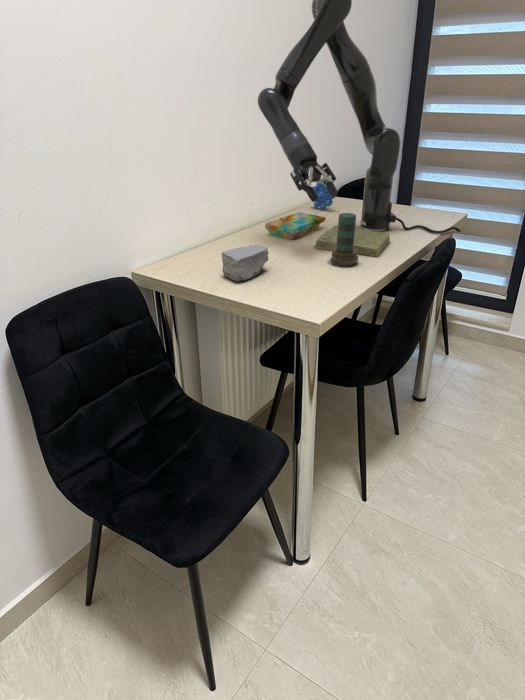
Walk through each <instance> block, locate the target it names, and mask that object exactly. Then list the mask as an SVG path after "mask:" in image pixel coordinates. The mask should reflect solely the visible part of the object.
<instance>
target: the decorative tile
mask: <svg viewBox="0 0 525 700" xmlns="http://www.w3.org/2000/svg"><path fill="white" fill-rule="evenodd" d="M337 234H338V225H334V226H333V227H331V228H329V229H327V230H326V231H325V232H324V233H322V234H320V236H319V237H317V238H316V239H315V248H317V249H322V250H329V251H333V248H334V247H337ZM390 235H391V234H390V233H389V232H387V231H386V232H385V231H382V232H374V231H370V230H368V229H362V228H360V226H355V234H354V245H353V247H354V248H356V249H357V250H358V253H357V255H366V256H370V257H378V256H380V254H381V253H382V251H383V250H384V249H385V248H386V246H387V245H388V244H389V243H390V242H391V241H390V240H391V237H390Z"/></svg>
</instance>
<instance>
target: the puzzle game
mask: <svg viewBox="0 0 525 700" xmlns="http://www.w3.org/2000/svg"><path fill="white" fill-rule="evenodd" d="M326 219H327V218H326V217H325V216H322V215H316V214H312V213H311V214H310V213H305V212H300V211H296V212H293V213H290V214H287V215H284V216H281V217H279V218H275V219H273V220H270V221H267V222H266V223H264V228H265V229H266V230H267V232H268V233H269V235H270V236H275V237H278V238H284V239H289V240H294V239H296V238H299V237H302V236H303V235H306V234H308V233H311V232H314V231H316V230H317V229H318V228H319V226H320V224H322V223H325V221H326Z"/></svg>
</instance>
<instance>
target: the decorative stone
mask: <svg viewBox="0 0 525 700" xmlns="http://www.w3.org/2000/svg"><path fill="white" fill-rule="evenodd" d="M221 260H222V269H221V270H222V273H223V276H224V277H226V278H227V279H229V280H231V281H233V282H236V283H242V282H247V281H249V280H251V279H253V278H255V277H257V276H259V275H260V273H261V272H262V270H263V268H264V265H266V263H267V262H268V261H269V250H268V247H267V246H265V245H260V244H249V245H248V246H238V247H236V248H232V249H231V248H230V249H226V250H224V251H222V252H221Z"/></svg>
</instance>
